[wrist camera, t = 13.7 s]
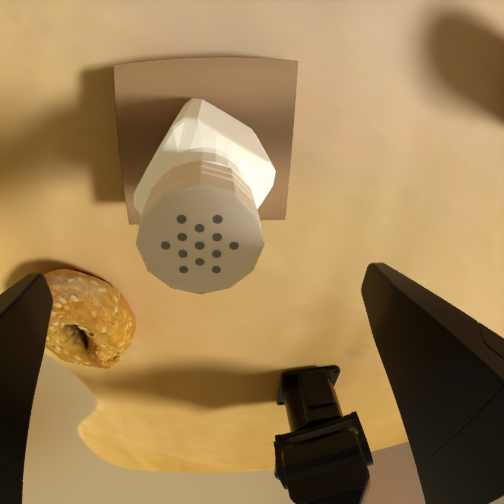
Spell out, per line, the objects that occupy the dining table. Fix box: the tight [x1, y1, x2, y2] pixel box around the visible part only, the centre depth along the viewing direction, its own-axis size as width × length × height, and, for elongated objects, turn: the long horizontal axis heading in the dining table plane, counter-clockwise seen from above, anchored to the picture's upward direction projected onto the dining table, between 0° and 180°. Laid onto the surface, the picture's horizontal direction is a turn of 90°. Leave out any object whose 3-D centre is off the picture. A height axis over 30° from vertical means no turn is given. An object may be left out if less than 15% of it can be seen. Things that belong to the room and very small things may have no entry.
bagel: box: [44, 269, 135, 369], centre depth 23 cm, size 10×11×5 cm
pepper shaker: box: [134, 98, 276, 294], centre depth 12 cm, size 4×4×10 cm
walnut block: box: [114, 57, 298, 225], centre depth 17 cm, size 9×9×3 cm
